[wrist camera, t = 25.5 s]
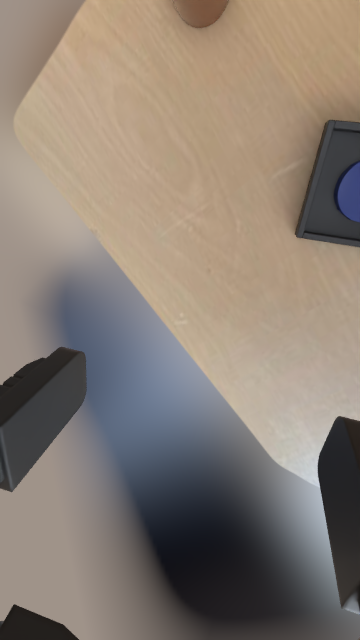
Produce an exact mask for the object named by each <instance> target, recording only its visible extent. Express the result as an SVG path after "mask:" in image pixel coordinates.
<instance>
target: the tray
mask: <svg viewBox="0 0 360 640" xmlns="http://www.w3.org/2000/svg"><path fill="white" fill-rule="evenodd" d="M359 160H360V123H358V122H347V121H335V120H329V121H328V122H326V123H325V127H324V131H323V134H322V138H321V141H320V145H319V149H318V152H317V156H316V160H315V163H314V167H313V170H312V174H311V178H310V181H309V185H308V189H307V192H306V196H305V199H304V203H303V207H302V210H301V214H300V218H299V221H298V225H297V228H296V232H295V235H296V237H298V238H305V239H311V240H317V241H324V242H330V243H336V244H343V245H349V246H355V247H360V222H356V221H353V220H349V219H347V217H345V216H344V215H343V214H341V213H340V212H339V210H337V207H336V204H335V201H334V195H333V194H334V190H335V186H336V184H337V181H338V178H339V177H340V176H341V175H342V173H343V172H344V171H345V170H346V169H347V168H348V167H349V166H351V164H353V163H355V162H357V161H359Z"/></svg>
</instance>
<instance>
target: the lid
mask: <svg viewBox="0 0 360 640" xmlns="http://www.w3.org/2000/svg"><path fill="white" fill-rule="evenodd" d="M333 195H334V201H335V204H336V207H337V210H339V212H340V213H341V214H343V215H344V216H345V217H347V219H349V220H353V221H356V222H360V160H359V161H357V162H355V163H353V164H351V166H349V167H348V168H347V169H346V170H345V171H344V172H343V173H342V175H341V176H340V177H339V178H338V181H337V184H336V186H335V190H334V194H333Z"/></svg>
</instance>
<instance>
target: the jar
mask: <svg viewBox="0 0 360 640" xmlns="http://www.w3.org/2000/svg"><path fill="white" fill-rule="evenodd" d="M172 1H173V3H174V5H175V7H176V9H177V11H178V13H179V15H180V16H181V18H182V19H183V20H184V21H185V22H186V23H187V24H188V25H190V26H192V27H196V28H203V27H206V26H209V25H211V24H212V23H214V22H215V21H216V20H217V19H218V18H219V17H220V16H221V14H222V13H223V11H224V9H225V8H226V5H227V3H228V0H172Z"/></svg>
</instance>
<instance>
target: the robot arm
mask: <svg viewBox="0 0 360 640" xmlns="http://www.w3.org/2000/svg"><path fill="white" fill-rule="evenodd" d="M85 395H86V358H85V354H84V353H83V352H81V351H77V350H73V349H69V348H65V347H60V348H58V349H57V350H56V351H54V352H53V353H52V354H51V355H50V356H48V357H47V358H40V359H38V360H36V361H33V362H31V363H29V364H27V365H25V366H24V367H23V368H21V369H20V370H19V371H18V372H16V373H15V374H14V376H13V377H10V378H9V379H7V380H6V381H5V382H4V383H3V385H0V488H1V489H4V490H7V491H10V492H13V490H14V489H15V488H16V487H17V485H18V484H19V483H20V482H21V480H22V479H23V478H24V477H25V475H26V474H27V473H28V472H29V470H30V469H31V468H32V467H33V465H34V464H35V463H36V461H37V460H38V459H39V458H40V457H41V455H42V454H43V453H44V452H45V450H46V449H47V448H48V447H49V445H50V444H51V443H52V442H53V440H54V439H55V438H56V437H57V435H58V434H59V433H60V432H61V430H62V429H63V428H64V426H65V425H66V424H67V423H68V422H69V420H70V419H71V418H72V417H73V415H74V414H75V413H76V412H77V410H78V409H79V408H80V406H81V405H82V403H83V401H84V398H85ZM318 477H319V483H320V489H321V494H322V500H323V505H324V511H325V517H326V523H327V529H328V534H329V540H330V545H331V552H332V557H333V563H334V568H335V574H336V580H337V586H338V591H339V597H340V603H341V608H342V609H345V610H348V611H351V612H354V613H357V614H360V421H357V420H353V419H349V418H345V417H341V416H339V417H337V418H336V420H335V421H334V423H333V426H332V428H331V430H330V432H329V435H328V437H327V439H326V441H325V443H324V446H323V448H322V450H321V452H320V455H319V460H318ZM0 640H79V639H78V638H77V637H75V635H73V634H72V633H71V632H70V631H69V630H68V629H67V628H66V627H65V626H64V625H63V624H60V623H58V622H55V621H53V620H51V619H48V618H46V617H43V616H41V615H38V614H36V613H34V612H31V611H29V610H26V609H24V608H22V607H19V606H17V605H13V607H12V608H11V610H10V612H9V614H8V615H7V617H6V619H5V620H4V621H0ZM358 640H360V637H359V639H358Z"/></svg>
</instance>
